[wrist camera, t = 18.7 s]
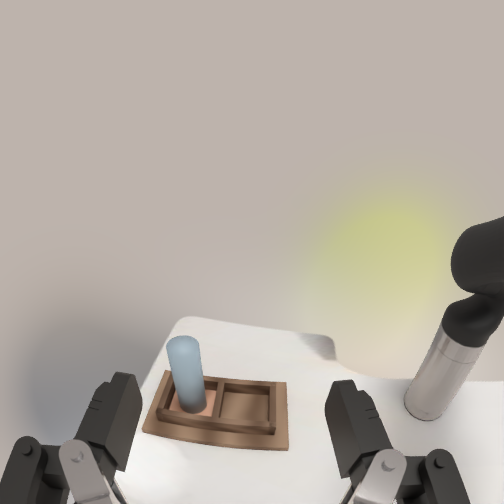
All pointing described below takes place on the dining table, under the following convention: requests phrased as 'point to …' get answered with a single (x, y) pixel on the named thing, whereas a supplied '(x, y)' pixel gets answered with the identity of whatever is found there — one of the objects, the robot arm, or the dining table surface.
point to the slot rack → (224, 414)
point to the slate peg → (187, 373)
